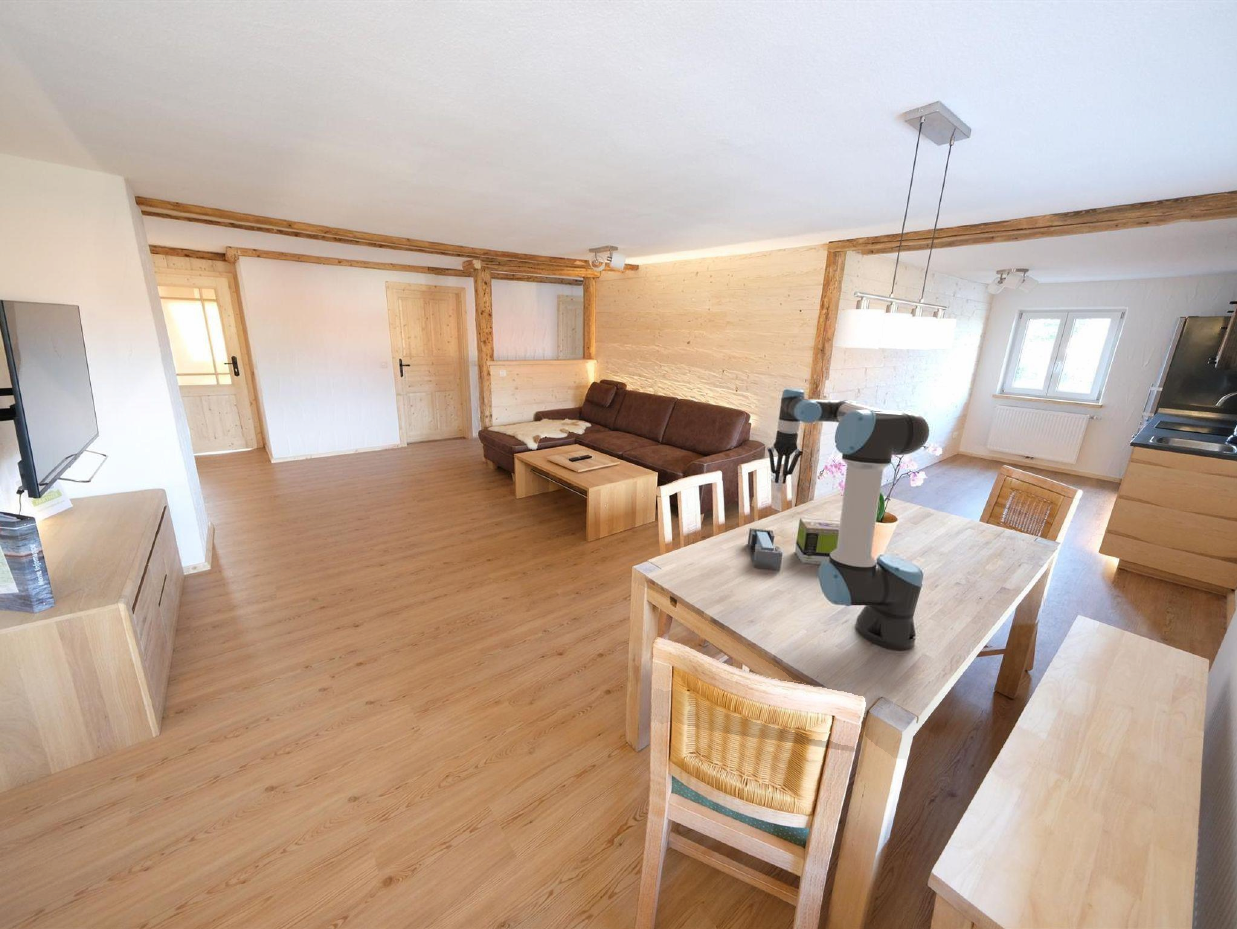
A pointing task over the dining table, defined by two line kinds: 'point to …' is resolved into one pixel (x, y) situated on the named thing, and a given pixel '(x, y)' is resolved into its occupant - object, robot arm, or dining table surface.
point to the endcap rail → (764, 552)
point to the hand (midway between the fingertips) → (778, 491)
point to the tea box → (816, 540)
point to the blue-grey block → (763, 541)
